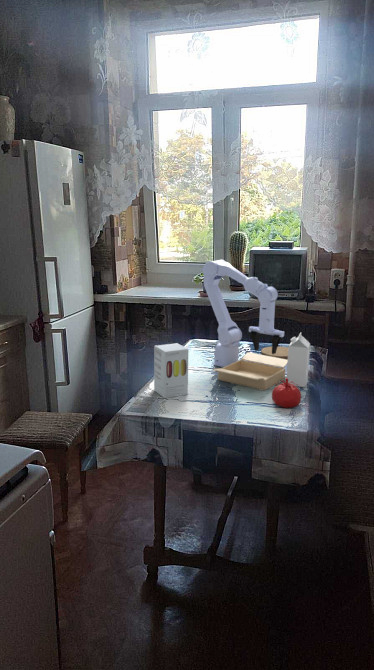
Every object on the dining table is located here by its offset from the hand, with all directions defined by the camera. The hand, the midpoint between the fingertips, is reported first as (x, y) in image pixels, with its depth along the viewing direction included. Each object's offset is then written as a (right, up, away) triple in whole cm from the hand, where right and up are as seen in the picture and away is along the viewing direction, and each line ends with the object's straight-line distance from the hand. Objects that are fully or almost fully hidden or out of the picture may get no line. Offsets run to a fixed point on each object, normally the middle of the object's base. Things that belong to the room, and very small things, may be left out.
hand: (265, 351), depth 202 cm
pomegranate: (+2, -17, -31) cm, 36 cm away
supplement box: (-37, -14, -21) cm, 44 cm away
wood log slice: (+10, -4, +24) cm, 26 cm away
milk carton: (+10, -12, -10) cm, 19 cm away
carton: (-6, -10, -6) cm, 14 cm away
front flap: (-12, -7, -16) cm, 21 cm away
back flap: (0, -3, +1) cm, 3 cm away
